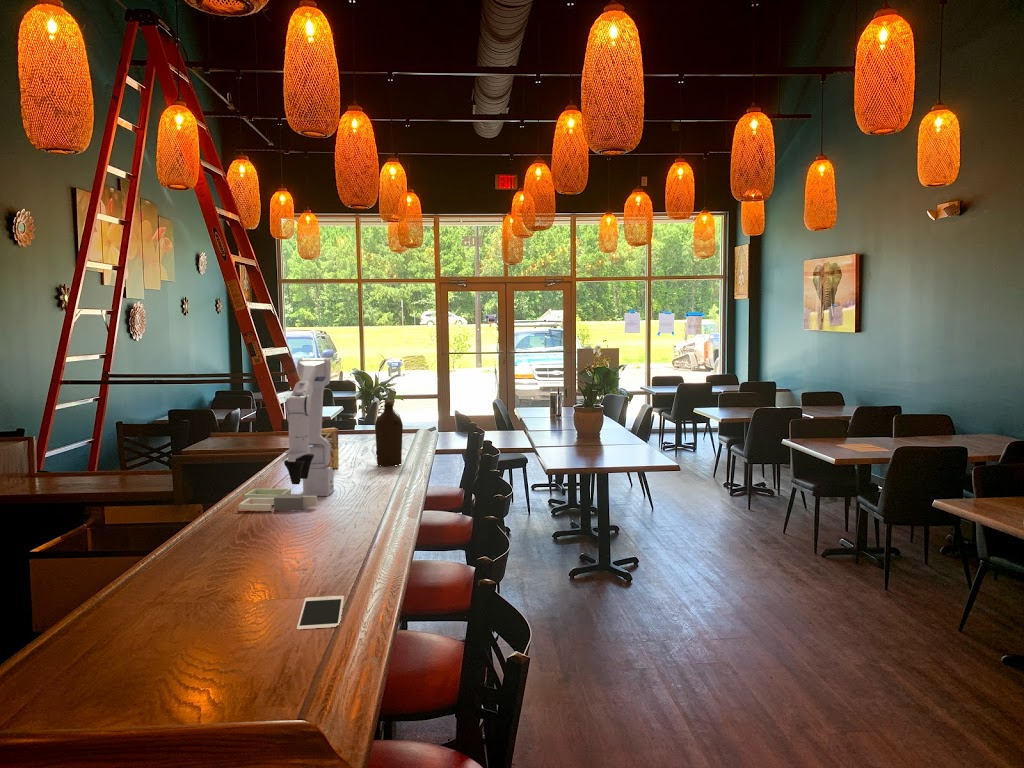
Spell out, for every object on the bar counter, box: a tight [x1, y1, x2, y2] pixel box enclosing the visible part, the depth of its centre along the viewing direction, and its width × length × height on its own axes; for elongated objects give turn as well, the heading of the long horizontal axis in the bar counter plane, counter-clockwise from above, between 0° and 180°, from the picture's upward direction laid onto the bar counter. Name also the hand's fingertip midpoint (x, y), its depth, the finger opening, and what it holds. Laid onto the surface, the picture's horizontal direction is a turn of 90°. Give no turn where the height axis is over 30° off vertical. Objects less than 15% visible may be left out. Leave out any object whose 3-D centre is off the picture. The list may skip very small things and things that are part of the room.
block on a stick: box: [273, 493, 318, 511], centre depth 229 cm, size 12×5×4 cm, turn 89°
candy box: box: [322, 427, 340, 469], centre depth 288 cm, size 9×4×15 cm, turn 129°
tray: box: [243, 488, 292, 501], centre depth 240 cm, size 12×9×2 cm
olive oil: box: [374, 400, 404, 467], centre depth 297 cm, size 11×11×25 cm
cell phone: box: [296, 595, 345, 631], centre depth 149 cm, size 8×16×1 cm, turn 9°
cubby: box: [237, 498, 274, 512], centre depth 229 cm, size 10×8×2 cm
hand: (299, 481), depth 228 cm, fingers open, 7 cm apart
